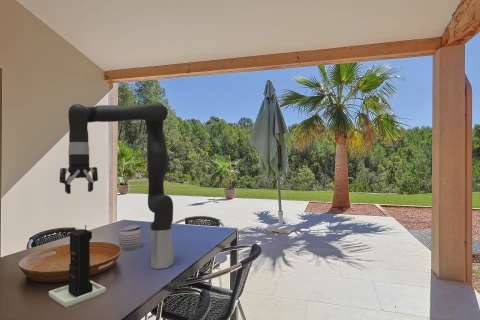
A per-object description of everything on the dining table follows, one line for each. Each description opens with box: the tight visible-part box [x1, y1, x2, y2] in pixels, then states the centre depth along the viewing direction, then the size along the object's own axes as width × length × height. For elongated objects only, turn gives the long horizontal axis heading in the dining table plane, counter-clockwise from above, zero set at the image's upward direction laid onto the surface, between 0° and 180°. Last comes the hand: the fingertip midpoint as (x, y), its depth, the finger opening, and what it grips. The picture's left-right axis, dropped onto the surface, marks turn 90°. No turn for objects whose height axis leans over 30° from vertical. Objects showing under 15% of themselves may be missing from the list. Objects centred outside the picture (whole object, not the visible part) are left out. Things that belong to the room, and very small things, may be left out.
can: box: [118, 224, 142, 252], centre depth 167 cm, size 11×11×12 cm
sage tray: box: [48, 279, 107, 308], centre depth 110 cm, size 14×14×2 cm
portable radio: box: [68, 225, 93, 297], centre depth 110 cm, size 8×6×25 cm
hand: (79, 192), depth 123 cm, fingers open, 8 cm apart
